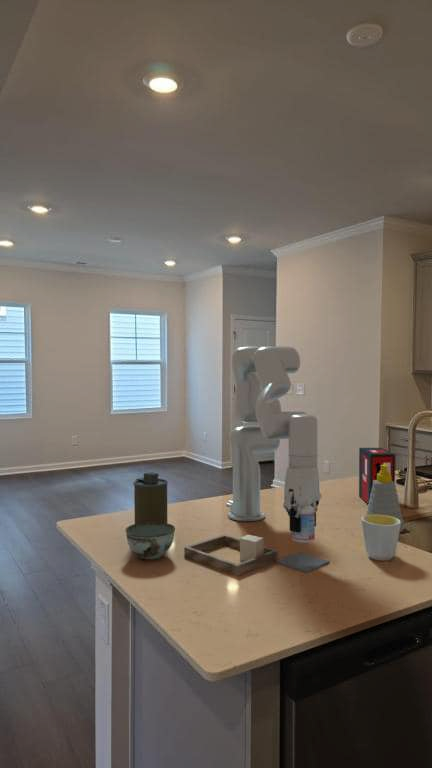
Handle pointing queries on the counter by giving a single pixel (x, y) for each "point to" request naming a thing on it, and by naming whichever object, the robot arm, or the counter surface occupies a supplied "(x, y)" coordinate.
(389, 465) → the cleaning product box
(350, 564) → the counter surface
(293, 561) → the slate mat
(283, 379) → the robot arm
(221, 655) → the counter surface
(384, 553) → the mug
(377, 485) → the soap bottle
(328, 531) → the counter surface
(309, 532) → the pill bottle
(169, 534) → the bowl
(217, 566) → the parts frame
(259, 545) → the tan box
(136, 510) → the canister
